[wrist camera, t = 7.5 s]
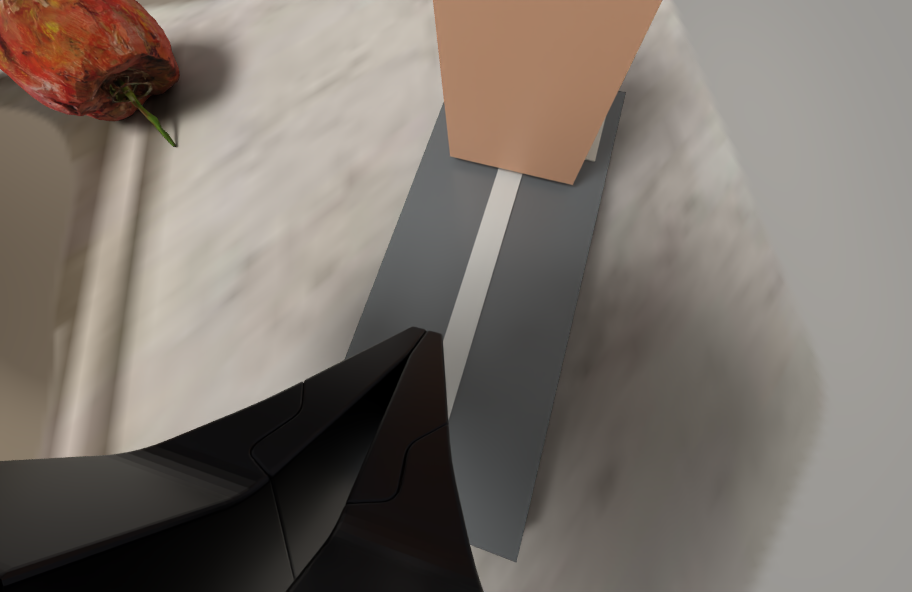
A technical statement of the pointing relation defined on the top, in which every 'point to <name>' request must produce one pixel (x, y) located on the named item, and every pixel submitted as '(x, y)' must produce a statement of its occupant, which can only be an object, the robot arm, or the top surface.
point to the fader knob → (534, 77)
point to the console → (491, 311)
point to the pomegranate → (87, 56)
